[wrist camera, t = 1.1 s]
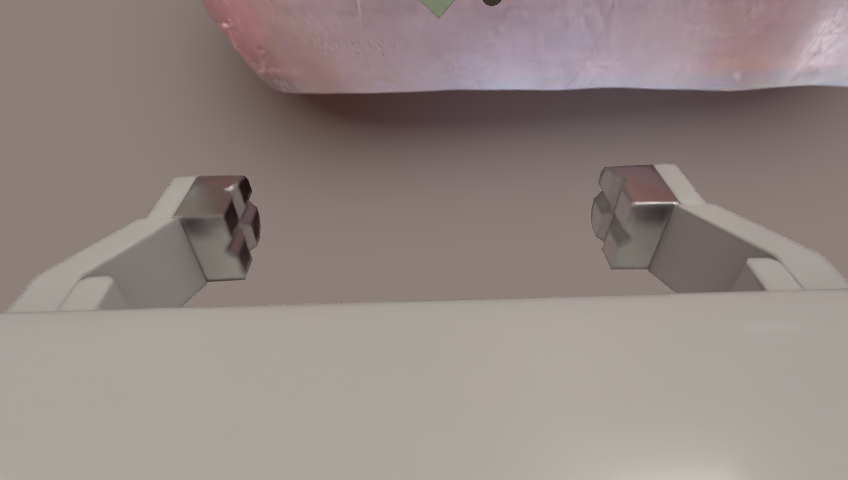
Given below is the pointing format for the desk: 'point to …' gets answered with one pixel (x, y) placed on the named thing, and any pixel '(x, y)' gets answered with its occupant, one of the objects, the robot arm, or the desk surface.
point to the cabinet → (437, 6)
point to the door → (491, 2)
